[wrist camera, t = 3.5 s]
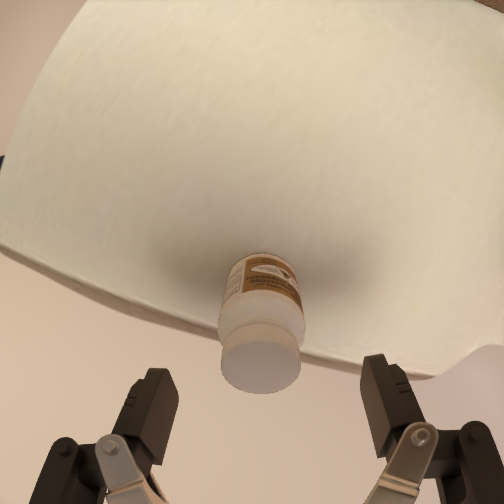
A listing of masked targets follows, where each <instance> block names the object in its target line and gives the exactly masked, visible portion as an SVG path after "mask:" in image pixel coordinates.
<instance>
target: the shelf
mask: <svg viewBox="0 0 504 504" xmlns="http://www.w3.org/2000/svg"><path fill="white" fill-rule="evenodd" d="M475 1H477V2H480V3H482V4H485V5H487V6H489V7H491V8H494V9H496V10H498V11H500V12H502V13H504V0H475Z"/></svg>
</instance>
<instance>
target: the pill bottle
mask: <svg viewBox="0 0 504 504" xmlns="http://www.w3.org/2000/svg"><path fill="white" fill-rule="evenodd" d="M304 335H305V320H304V314H303V309H302V304H301V299H300V293H299V288H298V284H297V279H296V275H295V273H294V271H293V269H292V268H291V266H290V265H289V264H288V263H286V262H285V261H284V260H282V259H281V258H279V257H276V256H274V255H270V254H254V255H250V256H247V257H245V258H243V259H242V260H240V261H239V262H238V263H237V264H236V265H235V266H234V267H233V268H232V270H231V272H230V274H229V277H228V281H227V285H226V289H225V294H224V298H223V303H222V307H221V312H220V316H219V321H218V336H219V340H220V342H221V344H222V346H223V350H222V359H221V370H222V374H223V376H224V378H225V379H226V380H227V381H228V382H229V383H230V384H231V385H232V386H234V387H235V388H237V389H239V390H242V391H245V392H248V393H254V394H269V393H274V392H278V391H280V390H283V389H285V388H287V387H288V386H290V385H291V384H292V383H293V382H294V381H295V380H296V378H297V377H298V375H299V372H300V367H301V362H300V350H299V347H300V346H301V344H302V342H303V339H304Z"/></svg>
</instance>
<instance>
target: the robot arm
mask: <svg viewBox="0 0 504 504" xmlns="http://www.w3.org/2000/svg"><path fill="white" fill-rule="evenodd" d="M360 391H361V396H362V400H363V404H364V407H365V411H366V415H367V419H368V422H369V426H370V430H371V434H372V438H373V442H374V446H375V450H376V454H377V458H381V457H386V461H387V465H386V467H385V469H384V470H383V472H382V474H381V476H380V478H379V480H378V481H377V483H376V484H375V486H374V488H373V489H372V491H371V492H370V494H369V496H368V497H367V499H366V500H365V502H364V503H363V504H414V502H415V501H416V498H417V496H418V494H419V487H420V484H421V482H422V480H423V479H431V478H435V479H436V483H437V488H438V492H439V497H440V502H441V504H504V466H503V464H502V461H501V458H500V455H499V452H498V450H497V447H496V444H495V442H494V440H493V437H492V435H491V432H490V430H489V428H488V427H487V426H486V425H485V424H484V423H482V422H480V421H471V422H468V423H466V424H465V425H464V426H463V427H462V428H461V430H438V429H436V428H435V427H434V426H433V425H431V424H429V423H427V422H426V421H425V419H424V416H423V414H422V412H421V409H420V407H419V405H418V402H417V400H416V397H415V395H414V392H413V391H412V388H411V385H410V384H409V381H408V379H407V376H406V374H405V372H404V371H403V370H402V369H401V368H400V367H399V366H398V365H397V364H392V365H388V363H387V361H386V358H385V356H384V355H383V354H377V355H371V356H365V357H364V361H363V368H362V374H361V380H360ZM178 403H179V396H178V391H177V389H176V387H175V384H174V382H173V380H172V377H171V375H170V372H169V370H168V369H165V368H149V369H148V371H147V374H146V376H145V378H144V379H139V380H138V381H137V382H136V383H135V384H134V385H133V386H132V387H131V389H130V391H129V393H128V396H127V398H126V400H125V402H124V406H123V407H122V409H121V412H120V414H119V416H118V419H117V421H116V423H115V426H114V428H113V431H112V433H111V434H109V435H105V436H103V437H102V438H100V439H99V441H98V442H97V443H95V444H82V445H78V444H77V443H76V442H75V441H74V440H73V439H72V438H69V437H63V438H60V439H58V440H57V441H55V442H54V443H53V445H52V447H51V449H50V451H49V454H48V456H47V458H46V461H45V463H44V466H43V468H42V470H41V473H40V475H39V478H38V481H37V483H36V486H35V488H34V491H33V494H32V496H31V499H30V502H29V504H103V502H104V498H105V495H106V500H107V502H108V504H169V502H168V501H167V499H166V497H165V496H164V494H163V492H162V490H161V489H160V487H159V485H158V483H157V481H156V480H155V478H154V476H153V474H152V473H151V467H152V464H155V465H162V462H163V458H164V454H165V451H166V447H167V443H168V439H169V435H170V432H171V429H172V425H173V421H174V418H175V414H176V411H177V407H178ZM107 488H108V493H106V491H107Z"/></svg>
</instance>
